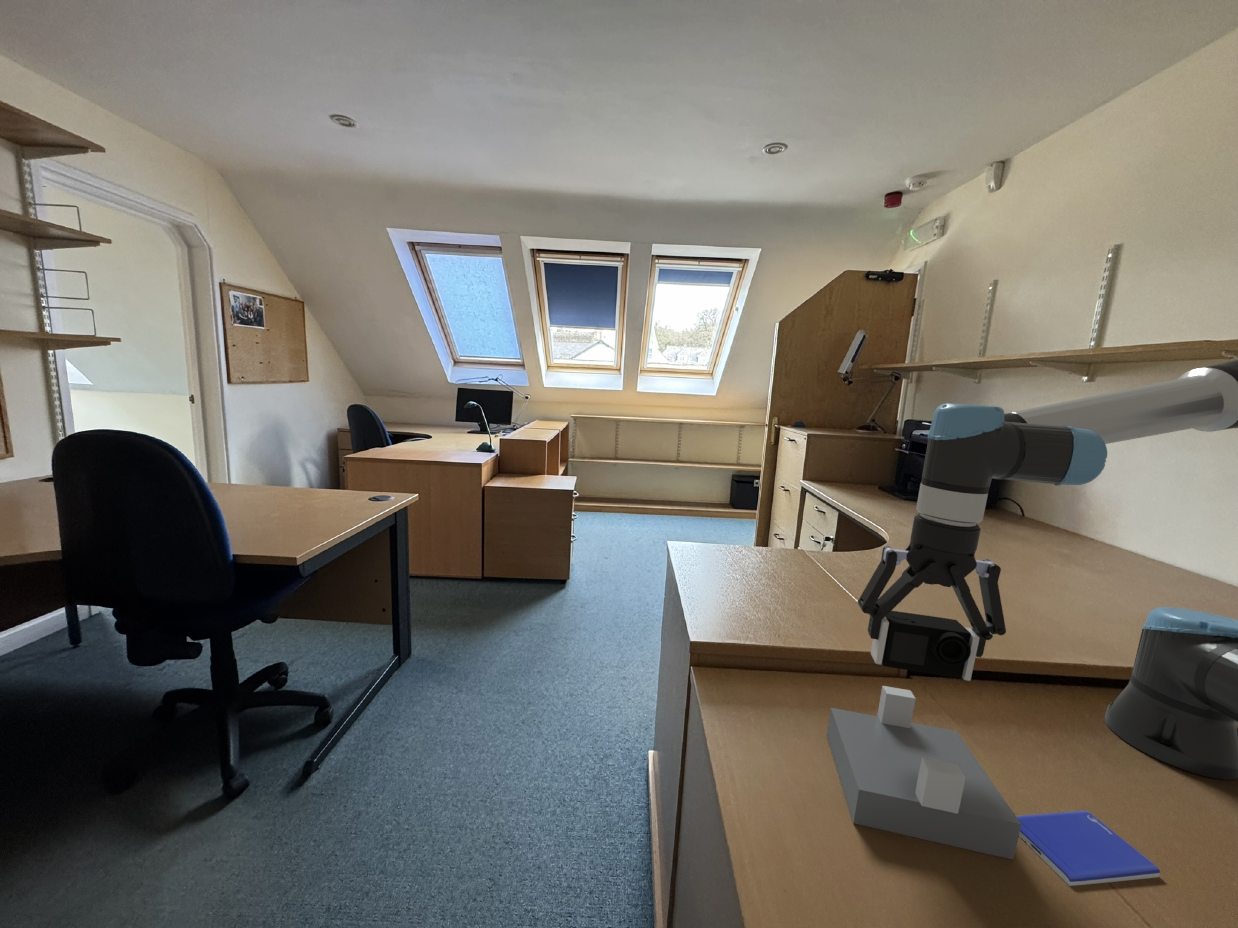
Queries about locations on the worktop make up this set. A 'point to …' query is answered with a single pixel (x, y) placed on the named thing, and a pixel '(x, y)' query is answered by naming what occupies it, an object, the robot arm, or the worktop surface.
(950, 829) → the stand
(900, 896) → the worktop surface
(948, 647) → the digital camera
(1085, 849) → the hard drive
